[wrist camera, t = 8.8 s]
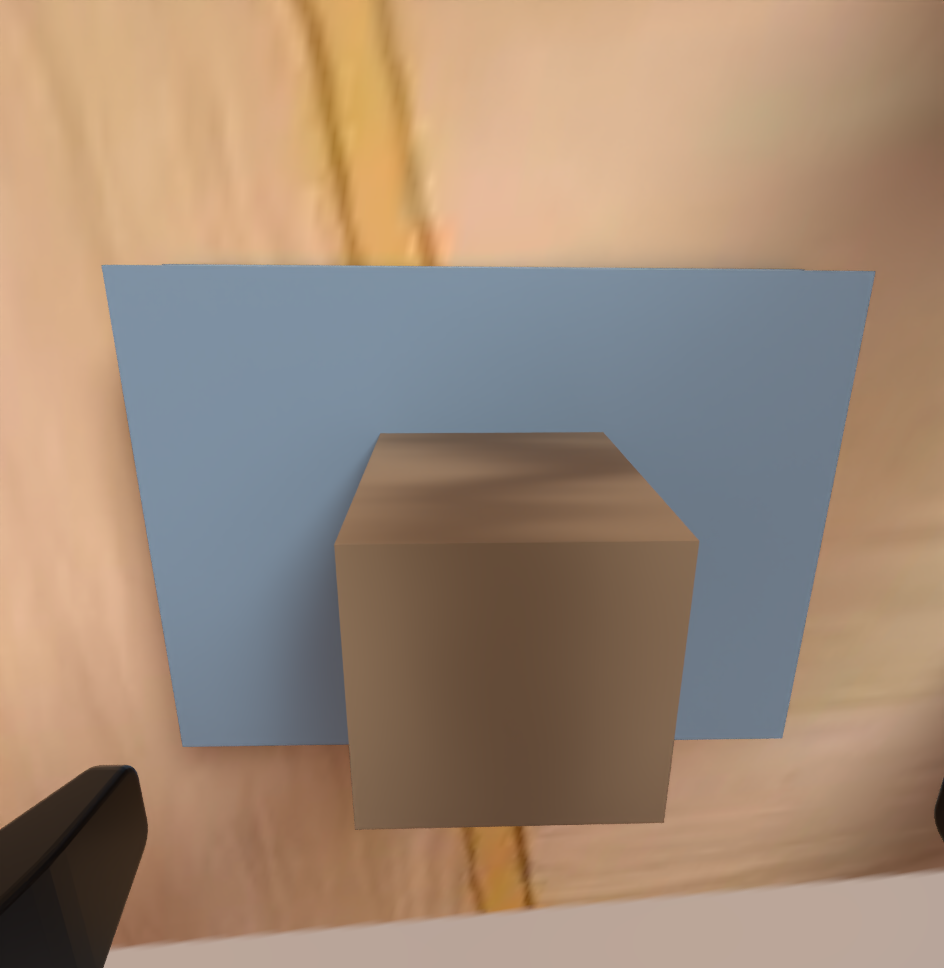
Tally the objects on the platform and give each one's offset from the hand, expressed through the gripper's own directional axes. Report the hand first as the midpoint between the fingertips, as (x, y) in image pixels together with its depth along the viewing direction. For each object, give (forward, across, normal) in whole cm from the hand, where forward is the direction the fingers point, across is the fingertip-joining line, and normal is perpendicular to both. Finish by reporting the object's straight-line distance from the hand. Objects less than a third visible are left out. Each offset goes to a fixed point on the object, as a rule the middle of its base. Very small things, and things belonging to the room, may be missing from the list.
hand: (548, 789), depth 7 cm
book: (+12, 0, +1) cm, 12 cm away
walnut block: (+8, 0, +1) cm, 8 cm away
